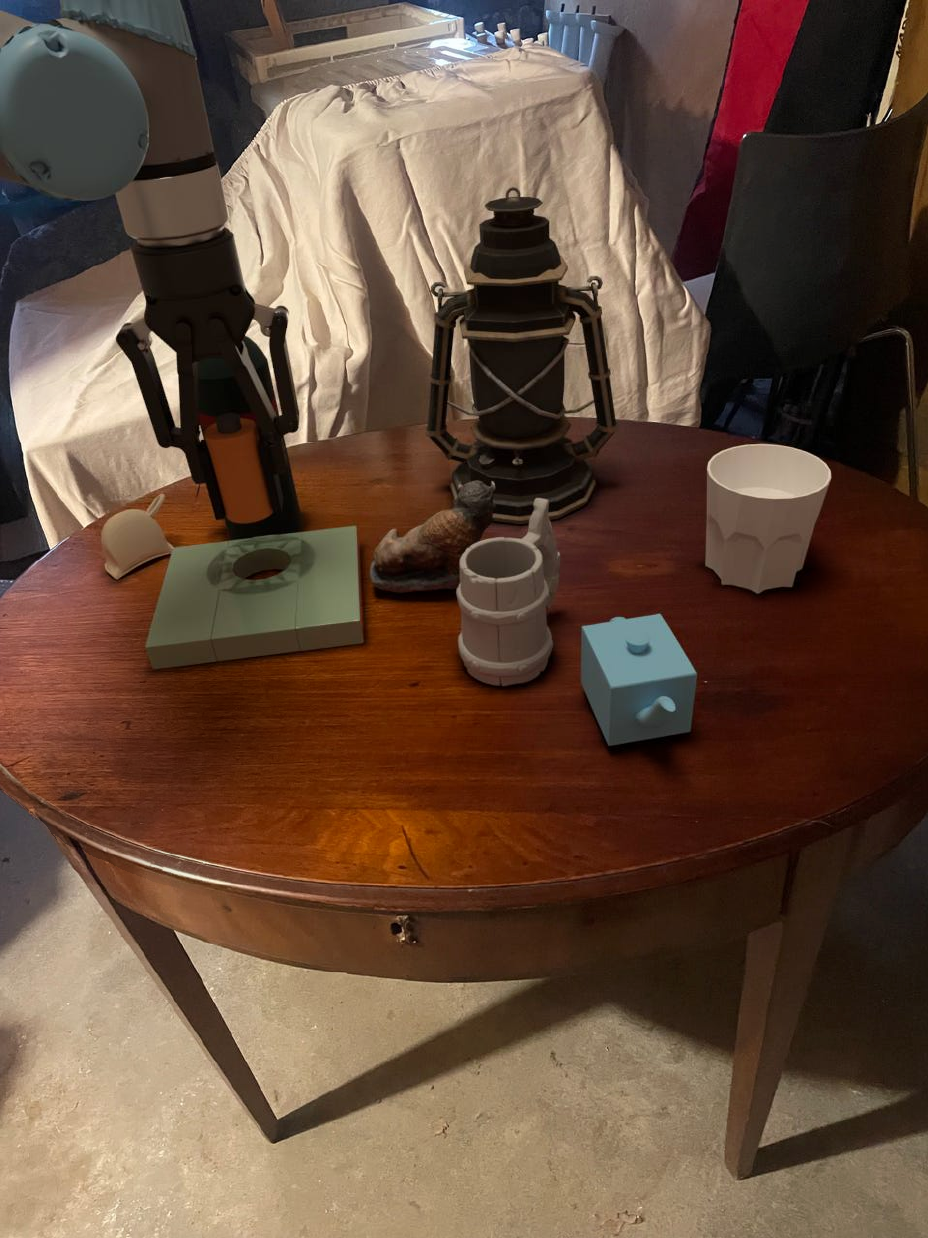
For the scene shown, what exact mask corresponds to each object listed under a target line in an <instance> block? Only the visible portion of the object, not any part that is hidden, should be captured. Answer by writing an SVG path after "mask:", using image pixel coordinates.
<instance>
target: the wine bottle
mask: <svg viewBox="0 0 928 1238" xmlns="http://www.w3.org/2000/svg"><path fill="white" fill-rule="evenodd" d="M243 342H244V344H245V346H246V349H247V351H248V355H249V358H250V360H251V362H252V364H253V366H254V369H255V371H256V373H257V375H258V377H259V379H260V381H261V383H262V386H263V388H264V390H265V392H266V394H267V396H268V398H269V401H270V403H271V405H272V407H273V409H274V411H275V413H276V415H277V417H278V416H280V411H279V408H278V403H277V397H276V392H275V389H274V383H273V379H272V374H271V370H270V366H269V361H268V358H267V356H266V355H265V354H264V352H263V351H262V349H261V347H260V346H259V345H258V343H256V342H255V341H254V340H253V339H252V338H250V336H247V335H245V337H244V339H243ZM198 396H199V430H200V431H201V434H202V435H201V436H202V440H203V439H205V437H204V432H205V430H206V429H207V428H208V427H209V426H211V425H213V424H215V423H216V421H215V420H216V418H217V417H218V416H220V415H223V414H228V413H235V414H238V415H239V417H240V418H243V419H249V420H252V421H254V422H255V424H256V426H257V431H258V435H260V433H262V431H261V429H260V427H259V425H258V423H257V421H256V419H255V417H254V415H253V413H252V411H251V409H250V407H249V405H248V403H247V400H246V398H245V396H244V394H243V392H242V390H241V388H240V386H239V384H238V382H237V380H236V378H235V376H234V374H233V372H232V371H231V370H230V369H229V367H228V365H227V363H226V361H225V359H216V358H207V359H205V360H202V361H199V362H198ZM282 438H283V443H284V447H285V452H286V457H287V469H286V473H284V474H278V476H279V481H280V485H281V490H282V494H283V505H282V512H278V513H272V514H271V515H269V516H268V517H266V518H264V519H262V520H260V521H256V522H252V523H235V522H232V521H230V520H229V519H228V518H227V517H226V514H225V519H223V520H224V523H225V527H226V532H227V535H228V537H229V541H231V540H240V539H248V538H253V537H259V536H268V535H281V534H290V533H298V532H300V530H301V528H302V527H303V524H304V522H303V518H302V513H301V509H300V504H299V500H298V495H297V490H296V485H295V480H294V477H293V471H292V468H291V462H290V457H289V454H288V450H287V444H286V439H285V435H284V436H283V437H282ZM200 490H201V484H198V486H197V489H196V495H195V500H194V502H197V499H198V496H199V493H200Z"/></svg>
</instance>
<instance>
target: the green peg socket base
mask: <svg viewBox="0 0 928 1238" xmlns="http://www.w3.org/2000/svg"><path fill="white" fill-rule="evenodd" d="M358 533H359V532H358V527H357V525H351V526H350V525H349V526H340V527H333V528H332V527H331V528H324V529H316V530H308V531H299V532H298V533H290V534H281V535H268V536H259V537H253V538H248V539H240V540H227V541H226V540H224V541H218V542H209V543H200V544H193V545H183V546H176V547H174V546H173V547H174V548H173V550H172V553H171V554H170V556H169V557H170V558H169V560H168V564H167V568H166V571H165V576H164V578H163V582H162V586H161V589H160V593H159V596H158V600H157V603H156V606H155V611H154V614H153V617H152V620H151V623H150V628H149V630H148V636H147V638H146V642H145V646H144V649H145V652H146V655H147V657H148V660H149V663H150V666H151V669H152V670H153V671H154V670H155V671H156V670H162V669H171V668H176V667H177V668H178V667H186V666H192V665H193V666H194V665H202V664H209V663H210V664H211V663H217V662H224V661H233V660H242V659H249V658H257V657H264V656H272V655H279V654H280V655H281V654H288V653H289V654H290V653H297V652H304V651H313V650H320V649H329V648H337V647H344V646H353V645H359V644H365V636H364V633H365V632H364V613H363V612H364V611H363V609H364V608H363V590H362V566H361V546H360V539H359V534H358ZM270 570H279V571H281V572H279V573H277V574H275V575H273V576H269V577H267V578H262V579H261V578H260V579H247V578H248V577H250V576H252V575H254V574H257V573H261V572H264V571H270Z"/></svg>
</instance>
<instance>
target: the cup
mask: <svg viewBox="0 0 928 1238" xmlns="http://www.w3.org/2000/svg"><path fill="white" fill-rule="evenodd" d="M831 479H832V471H831V469H830V468H829V466H828V465H827V463H826V462H825V461H823V460H822V459H821V458H820V457H818V456H816V455H814V454H812V453H810V452H808V451H805V450H802V449H798V448H795V447H791V446H786V445H780V444H769V443H755V444H743V445H737V446H732V447H729V448H727V449H723V450H721V451H719V452H718V453H716V454H714V455H713V456H712V457H711V458H710V460H709V461H708V463H707V467H706V525H705V526H706V527H705V529H706V530H705V563H704V565H705V567H707V568H709V569H710V570H713V572H715V574H716V575H717V576H718V577H719V578H720V580H721V581H720V582H721V585H722V586H725V585H726V586H735V587H739V588H743V589H747V590H750V591H752V592H754V593H755V594H757V595H759V594H760V593H762V592H763V591H766V590H771V589H776V588H783V587H784V588H793V586H794V582H795V578H796V574H797V572H799V571H801V570H803V567H804V564H805V560H806V558H807V557H806V556H807V553H808V549H809V547H810V542H811V539H812V535H813V532H814V528H815V524H816V522H817V520H818V518H819V515H820V512H821V510H822V507H823V503H824V501H825V498H826V495H827V492H828V489H829V486H830V483H831Z"/></svg>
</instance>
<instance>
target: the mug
mask: <svg viewBox="0 0 928 1238" xmlns="http://www.w3.org/2000/svg"><path fill="white" fill-rule="evenodd" d="M533 505H534V511H533V513H532V516H531V517H530V520H529V523H528V529H527V533H526V534H525V535H524V537H521V538H517V537H504V536H498V537H492V538H491V537H490V538H487V539H483V540H481V541H479V542H477V543H475V544H473V545H471V546H470V547H469V548H467V549H466V551H465V553H464V554H463V555H462V556H461V558H460V584H459V587H458V588H456V591H455V594H456V598H457V603H458V606H459V609H460V613H461V616H460V617H461V619H460V621H461V623H460V624H461V625H460V627H461V628H460V629H461V630H460V632H459V635H458V637H457V647H458V653H459V656H460V658H461V660H462V661H463V665H464V668H466V671H467V673H468V674H469V675H470V676H471V677H473V678H474V679H476V680H478V681H480V682H482V683H485V684H487V685H491V686H496V687H497V686H498V687H500V686H501V687H507V686H511V685H517V684H525V683H527V682H530V681H532V680H534V679H536V678H537V677H538V676H539V675H541V672H544V671H545V669H546V668H547V665H548V663H549V662H548V661H549V658H550V656H551V653H552V650H553V647H554V641H553V635H552V632H551V630H550V628H549V626H548V622H547V611H548V610H551V609H552V606H553V602H554V597H555V594H557V593H558V591H559V590H558V589H559V583H560V572H559V569H560V567H561V553H560V552H559V551H558V547H557V545H558V541H557V540H556V537H555V533H554V530H553V526H552V522H551V520H549V514H548V508H549V501H548V500H547V499H542V498H536V499H535V501H534V504H533Z"/></svg>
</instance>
